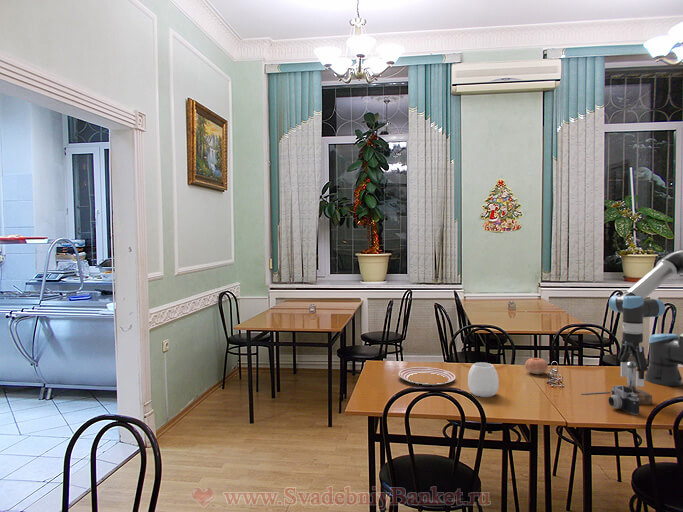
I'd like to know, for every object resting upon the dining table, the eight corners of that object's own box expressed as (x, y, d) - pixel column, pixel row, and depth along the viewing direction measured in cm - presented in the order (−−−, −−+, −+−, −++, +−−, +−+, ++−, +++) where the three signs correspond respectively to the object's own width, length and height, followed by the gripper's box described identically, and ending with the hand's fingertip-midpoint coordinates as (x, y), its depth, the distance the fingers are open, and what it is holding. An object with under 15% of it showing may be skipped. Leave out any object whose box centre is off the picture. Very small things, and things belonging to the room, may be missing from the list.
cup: (477, 388, 230) (477, 359, 230) (504, 394, 221) (504, 364, 220) (462, 394, 221) (462, 365, 221) (489, 401, 212) (489, 370, 211)
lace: (608, 392, 223) (608, 391, 223) (610, 392, 222) (610, 392, 222) (580, 394, 220) (581, 393, 220) (582, 394, 219) (582, 394, 219)
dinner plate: (463, 378, 248) (463, 371, 248) (443, 393, 225) (443, 385, 225) (412, 370, 263) (412, 364, 263) (389, 383, 240) (389, 376, 240)
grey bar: (633, 398, 215) (633, 361, 214) (637, 400, 211) (637, 363, 211) (625, 398, 215) (625, 361, 214) (629, 400, 212) (629, 363, 211)
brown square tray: (638, 395, 218) (638, 387, 218) (652, 403, 207) (652, 395, 207) (612, 394, 219) (612, 387, 219) (624, 403, 208) (624, 395, 208)
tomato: (521, 370, 259) (521, 355, 259) (541, 370, 260) (541, 355, 260) (531, 376, 248) (531, 360, 248) (552, 375, 249) (552, 360, 249)
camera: (598, 402, 209) (598, 379, 209) (617, 402, 210) (618, 378, 209) (621, 416, 194) (621, 390, 194) (641, 415, 194) (642, 390, 194)
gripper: (610, 326, 225) (609, 373, 226) (638, 338, 200) (637, 390, 201) (627, 326, 224) (626, 373, 225) (658, 338, 199) (657, 390, 200)
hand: (631, 381), depth 213 cm, fingers open, 13 cm apart
